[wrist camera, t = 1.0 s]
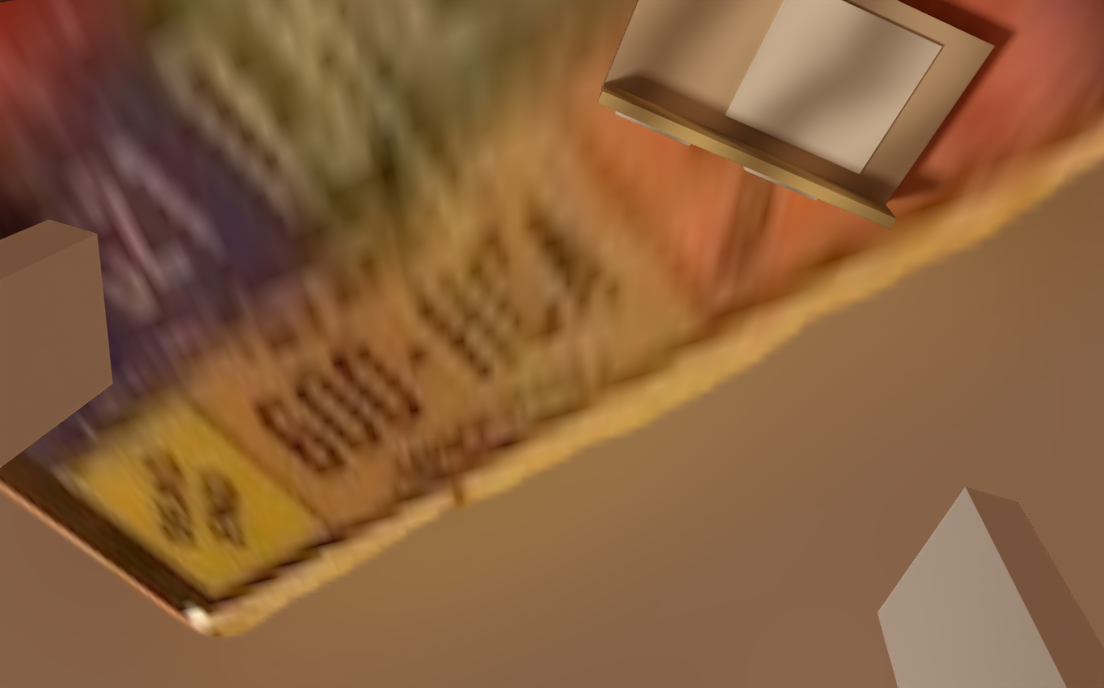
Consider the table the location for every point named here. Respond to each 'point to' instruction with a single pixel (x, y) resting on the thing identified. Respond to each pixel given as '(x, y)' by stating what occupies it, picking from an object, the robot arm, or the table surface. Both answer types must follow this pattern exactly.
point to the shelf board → (796, 88)
